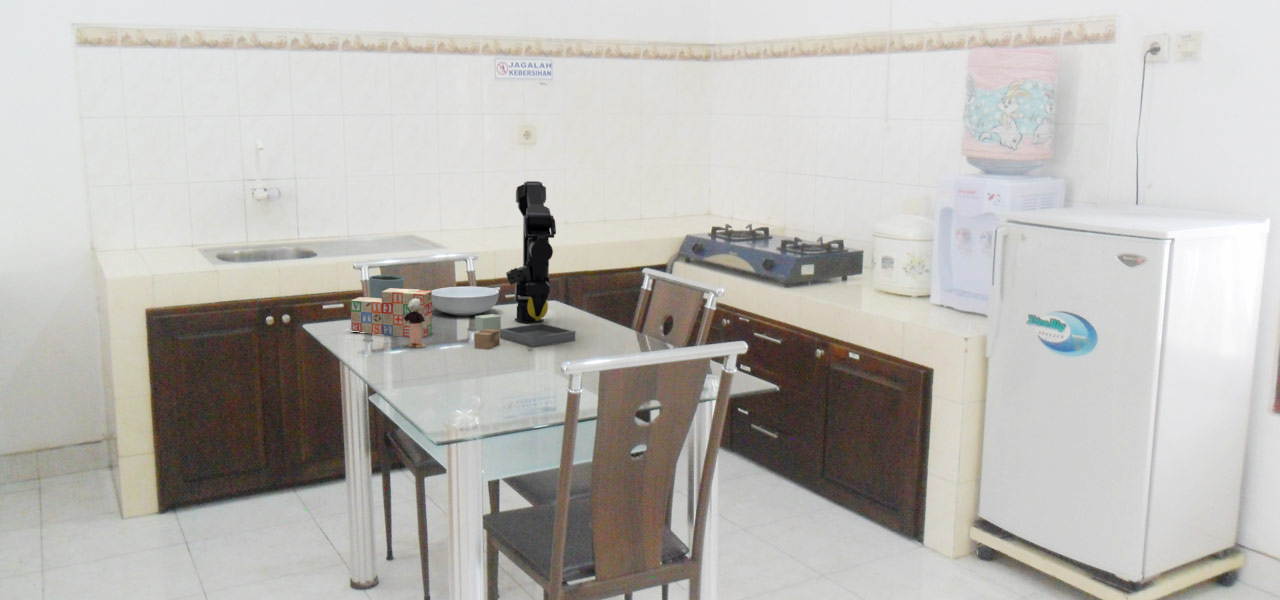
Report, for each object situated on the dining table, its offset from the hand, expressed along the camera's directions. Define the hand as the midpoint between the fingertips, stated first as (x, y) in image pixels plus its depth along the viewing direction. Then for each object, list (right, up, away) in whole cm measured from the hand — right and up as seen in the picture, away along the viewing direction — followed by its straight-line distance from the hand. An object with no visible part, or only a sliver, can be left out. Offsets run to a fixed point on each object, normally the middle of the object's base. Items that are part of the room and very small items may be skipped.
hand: (537, 314), depth 294 cm
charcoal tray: (0, -7, +1) cm, 7 cm away
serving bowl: (-26, 0, +37) cm, 45 cm away
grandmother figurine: (-31, -8, -11) cm, 34 cm away
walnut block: (-12, -8, -9) cm, 18 cm away
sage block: (-15, -5, +13) cm, 20 cm away
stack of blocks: (-41, -6, +4) cm, 41 cm away
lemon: (0, -2, 0) cm, 2 cm away
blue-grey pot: (-47, -1, +27) cm, 55 cm away
